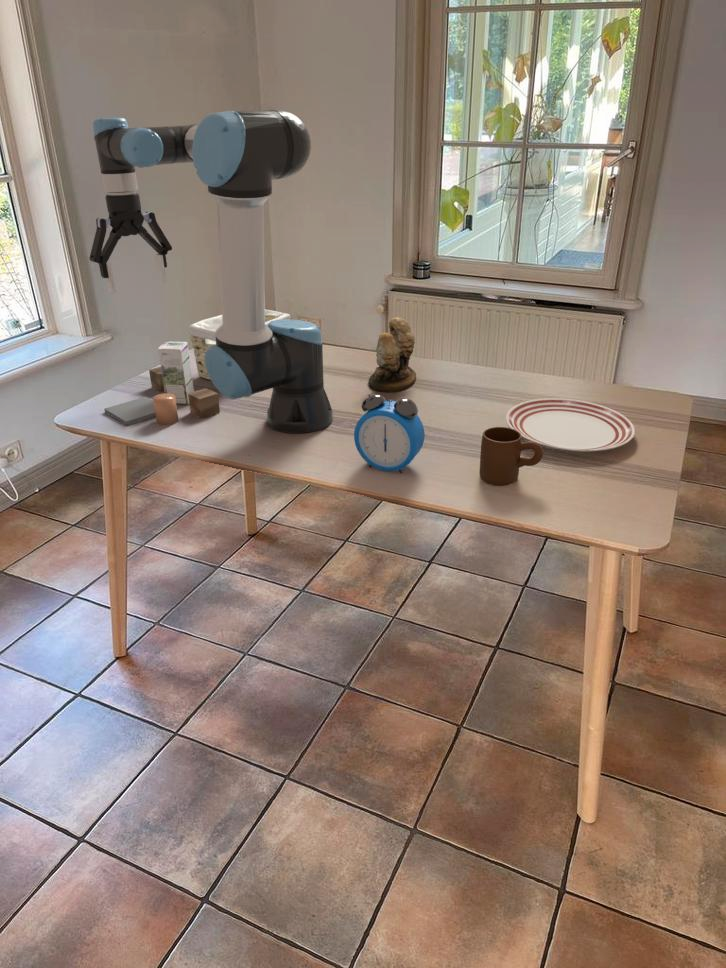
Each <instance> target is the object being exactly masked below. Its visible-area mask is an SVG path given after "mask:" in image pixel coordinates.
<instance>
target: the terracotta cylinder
mask: <svg viewBox="0 0 726 968" xmlns="http://www.w3.org/2000/svg"><path fill="white" fill-rule="evenodd" d="M152 400H153V402H154V408H155V415H156V417H155V419H156V424H157V425H158V426H159V425H160V426H165V427H166V426H167V427H168V426H171V425H174V424H177V423H178V422H179V421H180V420H179V414H178V406H177V405H178V404H176V398H175V395H174V394H170V393H165V392H162V393H158V394H156V395H154V396H153V397H152Z"/></svg>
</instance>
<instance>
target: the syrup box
mask: <svg viewBox="0 0 726 968" xmlns="http://www.w3.org/2000/svg"><path fill="white" fill-rule="evenodd" d="M157 350H158V351H157V352H158V356H159V363H160V364H159V365H160V367H161V371H162V377H163V383H164V390H165V392H164V393H170V394H174V395H175V398H176V405H190V404H189V397H188V393H192V392H195V388H194V382H193V374H192V368H191V367H192V366H191V365H192V364H191V358H190V350H189V344H188V341H163V342H162V344H160V346H159V347H157Z"/></svg>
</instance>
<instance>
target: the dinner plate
mask: <svg viewBox="0 0 726 968" xmlns="http://www.w3.org/2000/svg"><path fill="white" fill-rule="evenodd" d="M505 421H506V423H507V425H508V428H511V429H514V430H517V431H518V432H520V434H521V436H522V438H523V439H525V440H527V441H533V442H536V443H538V444H539V445H540V446H541V447H545V448H549V449H553V450H557V451H563V452H564V451H565V452H573V453H576V452H578V453H584V452H585V453H587V452H588V453H589V452H601V451H607V450H612V449H616V448H620V447H622V446H624V445H626V444H628V443H629V442H631V440H633V438H634V436H635V433H636V428H635V426H634V424H633V423H632V422H631V420H630V419H629V418H628V417H626V416H625V415H623V413H621V412H618V411H617V410H614V409H612V408H609V407H607V406H605V405H601V404H597V403H594V402H589V401H585V400H578V399H573V398H571V399H570V398H561V397H560V398H559V397H557V398H556V397H555V398H554V397H553V398H549V397H548V398H535V399H531V400H527V401H523V402H521V403H518V404H515V405H514V406H512V407H511V408H510V409H509V410H508V411H507V413H506V415H505Z"/></svg>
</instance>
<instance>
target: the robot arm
mask: <svg viewBox="0 0 726 968" xmlns="http://www.w3.org/2000/svg"><path fill="white" fill-rule="evenodd" d="M92 128H93V129H92V130H93V139H94V143H95V148H96V154H97V157H98V159H97V160H98V163H99V169H100V174H101V179H102V185H103V186H102V187H103V192H105V193H107V194H106V195H105V203H106V208H107V213H108V218H102V217H97V218H96V219H95V221H96V222H95V223H96V229H95V233H94V238H93V243H92V246H91V251H90V255H89V261H90V262H93V263H97V264H98V267H99V271H100V276H101V278H102V279H103V278H104V280H105V284H106V290H107V292H109V293H116V286H115V281H114V276H113V275H114V274H113V269H112V264H111V263H109V260H110V257H111V256H112V253H113V252H114V250H115V248H116V246H117V245H118V242H119V240H121V238H122V237H129V236H136V235H139V236H140V237H141V238H142V239H143V240H144V241H145V242H146V243H147V244H148V245H149V246H150V247H151V248H152V249H153V250H154V251H155V252H156V253H154V254H153V255H154V260H155V261H154V263H155V268H156V273H157V275H156V276H157V281H158V282H160V283H167V282H168V281H167V276H166V269H165V268H167V267H168V262H167V256H166V255H168V252H169V251H172V250H173V247H172V245H171V243H170V241H169V239H168V238H167V237H166V235H165V234H164V231H163V230H162V228H161V227H160V225H159V223H158V221H157V218H156V214H155V213H154V212H151V211H145V213H143V212H142V206H141V205H142V204H141V199H140V194H139V193H138V192H137V191H139V184H138V179H137V174H136V173H137V172H136V168H135V167H138V168H141V169H143V168H149V167H150V168H151V167H154V166H159V165H161V166H162V165H171V164H172V165H173V164H183V163H192V164H193V167H194V168H195V169H196V175H197V177H198V179H199V180H200V181H201V182H202V183H203V184H204V185H206V186H207V191H208V194H209V195H210V196H211V198H213V199H214V200H215V202H216V206H217V228H218V229H217V230H218V231H217V232H218V233H217V234H218V252H219V275H220V277H219V278H220V295H221V296H220V298H221V299H220V300H221V315H222V323H223V324H222V325H221V326H220V327H219V328H218V329H217V330H216V333H215V336H216V346H211V347H210V348H209V349H208V350H207V352H206V353H205V365H206V369H207V372H208V375H209V377H210V379H211V380H210V379H209V380H210V381H211V383H212V384H213V386H214V387H215V388H216V390H217V391H218V392H219V393H220V394H221V395H222V396H224V397H225V398H227V399H231V400H238V399H241V398H244V397H245V398H249V397H251V396H252V395H255V394H259V393H261V392H264V391H267V390H268V391H269V390H271V389H272V392H271V397H270V401H269V406H268V409H267V411H266V415H267V417H266V418H267V424H268V426H269V427H271V428H272V429H274V430H276V431H279V432H282V433H289V434H307V433H311V432H312V433H313V432H316V431H320V430H323V429H325V428H327V427H329V426H330V425H331V423H332V422H333V418H334V414H333V408H332V406H331V403H330V400H329V397H328V394H327V392H326V389H325V384H324V383H325V382H324V359H323V354H324V353H323V345H324V343H323V340H322V332H321V328H320V326H318V325H317V324H316V323H313V322H309V321H306V320H300V319H299V320H298V319H290V320H289V319H283V320H274V321H271V322H270V323H269V324H268V327H267V326H266V325H265V322H266V320H265V309H266V298H265V297H266V292H265V290H266V289H265V288H266V287H265V286H266V285H265V272H266V271H265V212H264V211H265V210H264V209H265V203H266V202H267V201H268V200H269V199H270V198H271V197H272V194H273V180H279V179H285V178H289V177H291V176H292V177H293V176H294V175H296V174H297V173H299V172H300V171H301V170H302V169H303V168H304V167H305V165H306V164H307V162H308V160H309V158H310V154H311V149H312V144H311V143H312V142H311V135H310V133H309V130H308V128H307V126H306V125H305V123H304V122H303V121H302V119H300V118H299V117H298V116H297V115H296V114H293V113H291V112H289V111H286V110H283V109H269V110H267V109H266V110H225V111H221V112H220V111H219V112H211V113H209V114H207V115H206V116H205V117H203V118H202V120H200V123H199V124H195V123H194V124H188V125H186V124H185V125H170V126H148V127H147V126H146V127H145V126H143V127H142V126H140V127H129V124H128V121H127V119H126V118H124V117H105V118H104V117H103V118H95V119H94V120H93V122H92ZM144 221H145V223H147V224H148V227H149V228H150V229H151V231H152V233H153V235H154V236H155V238H156V239H157V240H156V239H155V238H154V237H153V236H152V235H151V234H150V233H149V232H148V230H147V229H146V228H145V227H144V226H143V224H144ZM109 226H110V227H111V228H112V229H111V230H110V231H109V236H108V238H107V240H106V242H105V238H106V235H107V229H108V228H109Z"/></svg>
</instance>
